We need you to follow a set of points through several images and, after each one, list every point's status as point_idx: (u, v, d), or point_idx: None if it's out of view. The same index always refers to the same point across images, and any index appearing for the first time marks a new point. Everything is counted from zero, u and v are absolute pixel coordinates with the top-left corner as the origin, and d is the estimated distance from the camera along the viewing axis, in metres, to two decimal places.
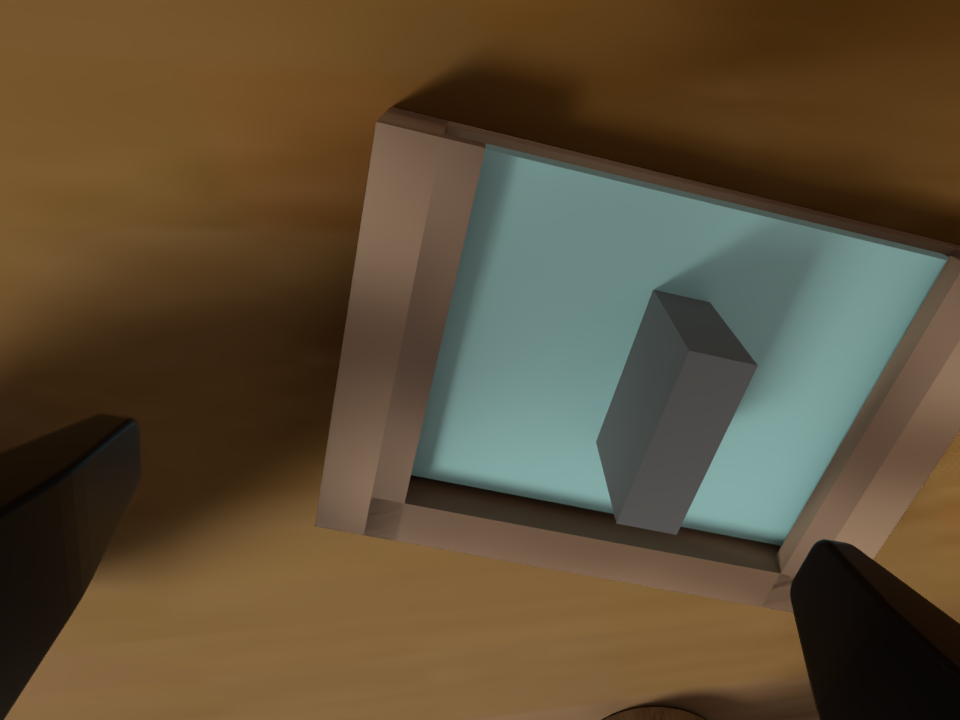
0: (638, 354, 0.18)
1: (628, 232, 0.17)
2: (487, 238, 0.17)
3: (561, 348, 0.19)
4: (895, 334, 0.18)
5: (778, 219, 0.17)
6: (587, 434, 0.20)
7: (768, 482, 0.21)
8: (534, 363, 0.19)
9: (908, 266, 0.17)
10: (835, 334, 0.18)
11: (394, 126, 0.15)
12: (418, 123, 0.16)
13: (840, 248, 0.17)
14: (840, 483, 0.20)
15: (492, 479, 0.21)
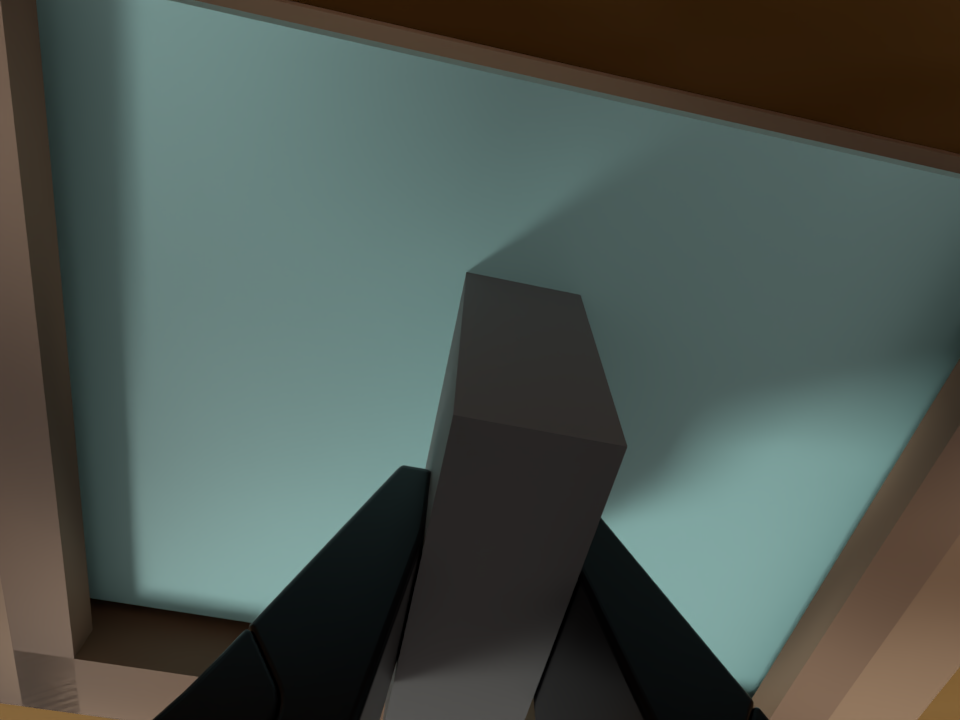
0: (442, 400, 0.09)
1: (396, 156, 0.08)
2: (117, 174, 0.09)
3: (313, 387, 0.10)
4: (945, 348, 0.10)
5: (702, 121, 0.08)
6: None
7: (719, 605, 0.12)
8: (269, 414, 0.10)
9: None
10: (828, 351, 0.10)
11: None
12: None
13: (833, 179, 0.08)
14: (843, 619, 0.11)
15: (244, 605, 0.12)
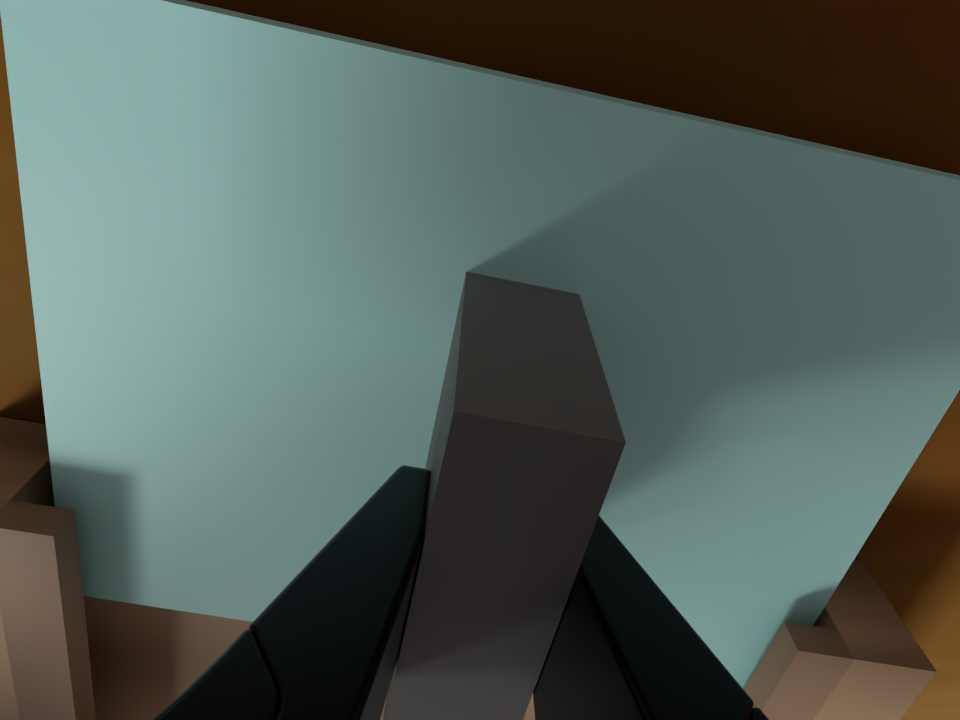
0: (441, 398, 0.09)
1: (396, 156, 0.09)
2: (119, 174, 0.09)
3: (314, 386, 0.10)
4: (941, 347, 0.10)
5: (700, 122, 0.08)
6: None
7: (718, 603, 0.12)
8: (270, 413, 0.10)
9: None
10: (825, 350, 0.10)
11: None
12: None
13: (829, 180, 0.09)
14: None
15: (245, 604, 0.12)
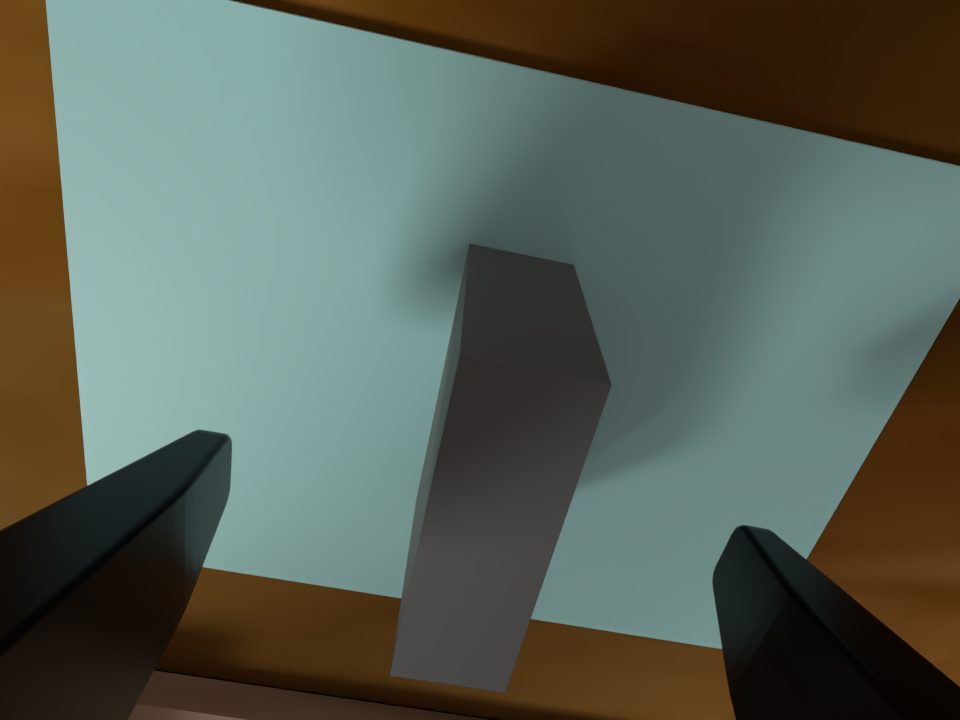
0: (447, 360, 0.10)
1: (406, 136, 0.09)
2: (151, 153, 0.09)
3: (328, 352, 0.11)
4: (908, 314, 0.10)
5: (683, 104, 0.09)
6: (399, 490, 0.12)
7: (704, 559, 0.13)
8: (287, 377, 0.11)
9: (929, 189, 0.10)
10: (801, 317, 0.10)
11: None
12: None
13: (802, 158, 0.09)
14: None
15: (262, 560, 0.13)
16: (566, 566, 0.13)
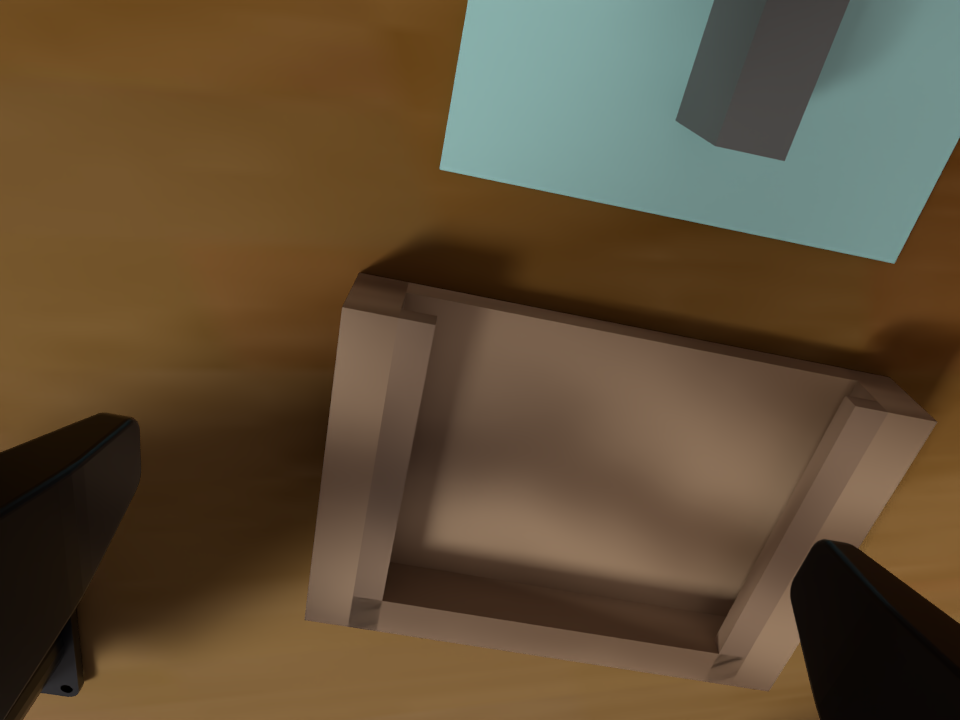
0: None
1: None
2: None
3: None
4: None
5: None
6: (665, 110, 0.18)
7: (870, 172, 0.18)
8: (607, 10, 0.17)
9: None
10: None
11: (357, 310, 0.18)
12: (380, 297, 0.19)
13: None
14: (764, 580, 0.22)
15: (557, 177, 0.19)
16: (771, 180, 0.18)
